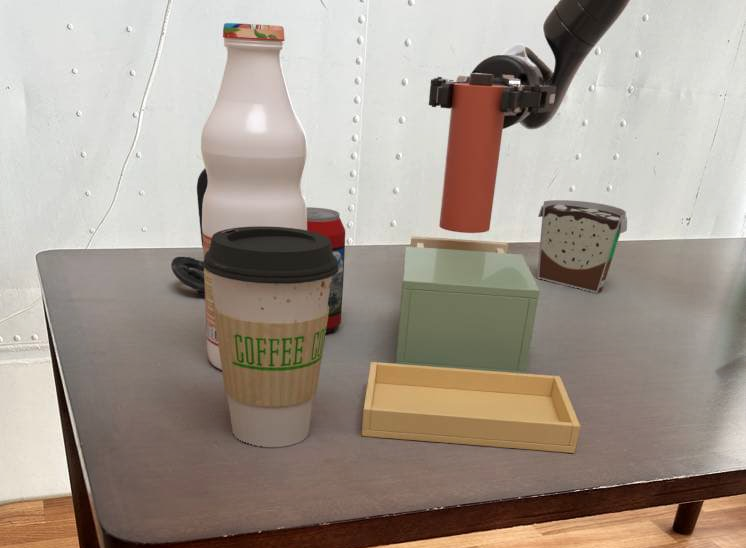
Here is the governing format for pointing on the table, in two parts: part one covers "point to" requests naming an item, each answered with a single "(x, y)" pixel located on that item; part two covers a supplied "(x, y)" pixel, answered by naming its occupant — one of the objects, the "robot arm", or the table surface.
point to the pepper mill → (472, 155)
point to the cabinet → (466, 310)
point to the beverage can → (333, 229)
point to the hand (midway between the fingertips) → (474, 98)
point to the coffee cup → (270, 326)
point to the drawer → (459, 244)
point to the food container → (578, 242)
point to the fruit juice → (251, 148)
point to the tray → (469, 407)
